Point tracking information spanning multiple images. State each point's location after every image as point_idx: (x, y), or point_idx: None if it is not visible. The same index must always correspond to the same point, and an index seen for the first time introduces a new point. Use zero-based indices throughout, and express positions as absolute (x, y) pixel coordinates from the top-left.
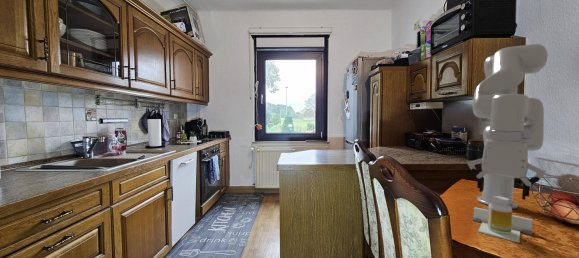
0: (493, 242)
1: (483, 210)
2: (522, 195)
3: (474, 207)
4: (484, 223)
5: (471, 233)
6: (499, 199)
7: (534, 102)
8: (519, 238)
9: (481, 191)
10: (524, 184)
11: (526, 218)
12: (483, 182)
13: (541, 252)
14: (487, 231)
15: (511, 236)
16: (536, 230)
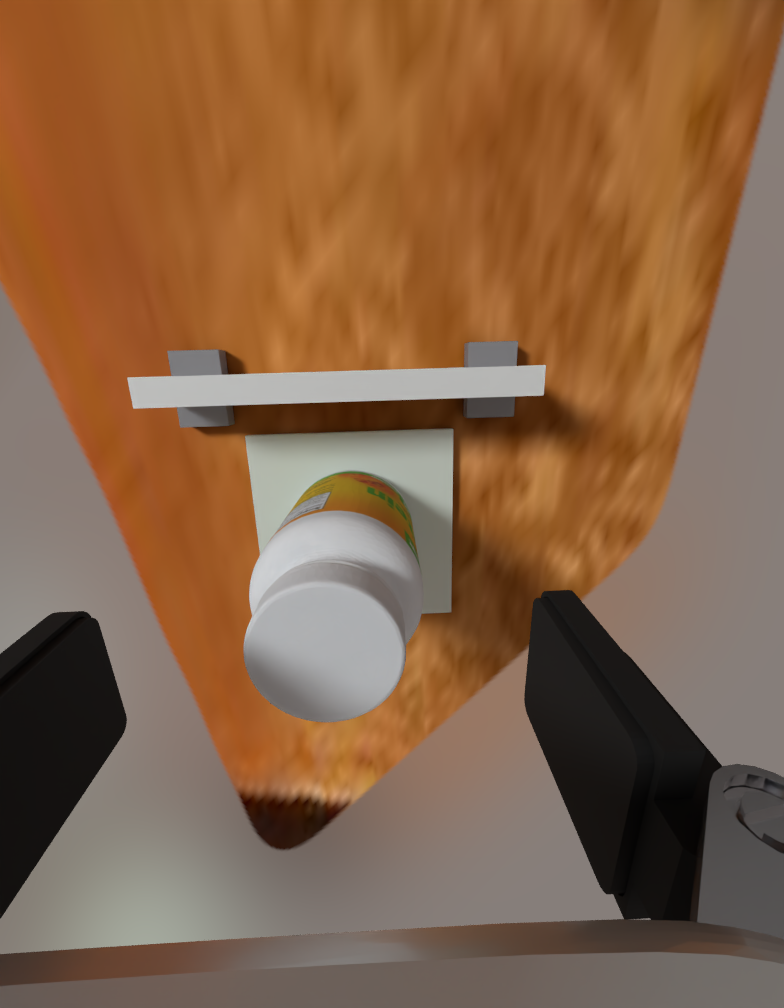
0: None
1: (209, 405)
2: (543, 746)
3: (131, 393)
4: (262, 454)
5: None
6: (325, 720)
7: None
8: (450, 565)
9: (118, 730)
10: (648, 900)
11: (506, 378)
12: (15, 785)
13: (528, 646)
14: None
15: None
16: (541, 275)
